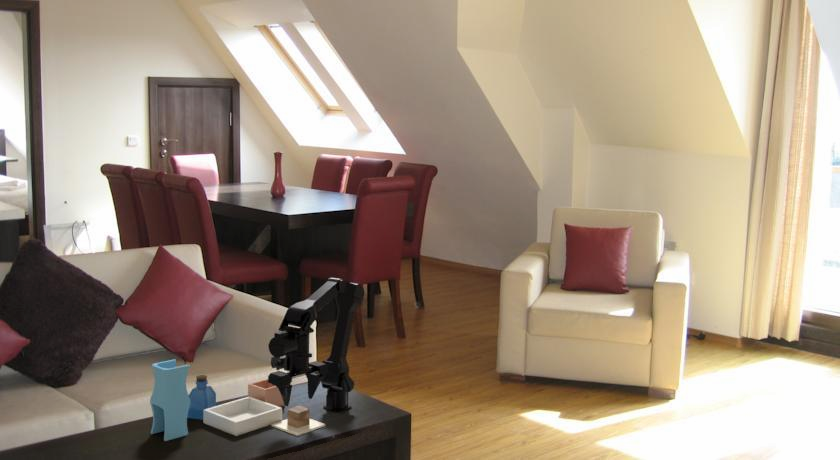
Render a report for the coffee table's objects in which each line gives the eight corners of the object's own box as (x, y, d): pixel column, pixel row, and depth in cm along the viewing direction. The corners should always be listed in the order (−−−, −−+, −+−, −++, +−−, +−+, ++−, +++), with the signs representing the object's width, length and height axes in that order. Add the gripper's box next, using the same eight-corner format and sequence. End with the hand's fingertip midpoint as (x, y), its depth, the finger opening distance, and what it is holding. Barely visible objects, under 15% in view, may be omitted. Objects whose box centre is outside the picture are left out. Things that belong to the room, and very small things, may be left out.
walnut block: (298, 420, 257) (299, 405, 256) (309, 424, 254) (309, 409, 253) (287, 424, 253) (287, 409, 253) (297, 428, 251) (298, 413, 250)
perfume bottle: (206, 420, 257) (206, 380, 255) (187, 418, 258) (187, 378, 256) (215, 413, 263) (215, 374, 261) (196, 411, 264) (196, 372, 262)
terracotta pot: (267, 399, 276) (268, 378, 275) (284, 405, 271) (285, 384, 270) (247, 405, 270) (248, 384, 269) (264, 412, 265) (265, 389, 264)
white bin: (249, 408, 267) (249, 396, 266) (282, 421, 258) (282, 408, 257) (203, 422, 254) (203, 409, 253) (236, 436, 245) (236, 422, 244)
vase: (190, 434, 245) (190, 365, 242) (165, 441, 239) (164, 370, 237) (175, 426, 250) (174, 359, 248) (150, 433, 245) (149, 364, 242)
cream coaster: (299, 416, 262) (299, 414, 261) (325, 426, 255) (325, 424, 255) (271, 426, 253) (271, 424, 253) (297, 435, 246) (297, 433, 246)
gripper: (303, 338, 263) (303, 388, 265) (255, 350, 249) (255, 403, 251) (330, 345, 256) (329, 397, 258) (281, 358, 242) (281, 412, 244)
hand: (298, 402), depth 253 cm, fingers open, 9 cm apart
